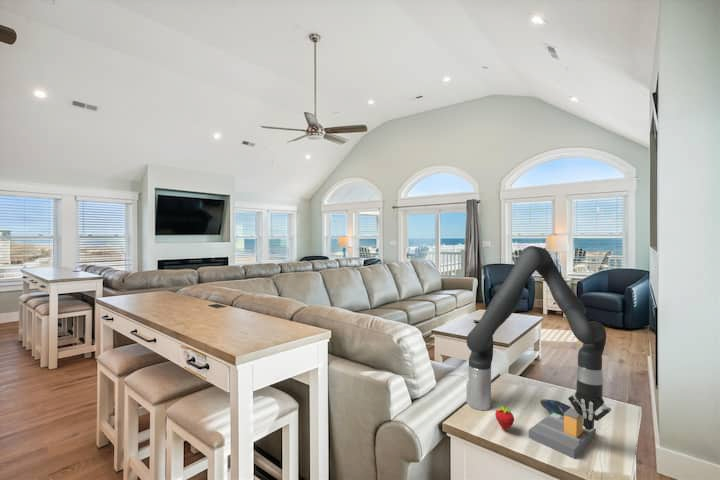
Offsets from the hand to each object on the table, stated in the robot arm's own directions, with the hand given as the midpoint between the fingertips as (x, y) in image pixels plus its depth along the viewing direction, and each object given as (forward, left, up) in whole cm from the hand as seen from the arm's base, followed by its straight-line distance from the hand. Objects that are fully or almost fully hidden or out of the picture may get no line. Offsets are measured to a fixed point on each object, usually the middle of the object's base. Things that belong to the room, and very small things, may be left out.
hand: (588, 428), depth 122 cm
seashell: (-17, +17, -7) cm, 25 cm away
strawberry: (-24, -12, -7) cm, 28 cm away
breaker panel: (-8, 0, -7) cm, 11 cm away
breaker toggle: (-5, 0, -4) cm, 6 cm away
